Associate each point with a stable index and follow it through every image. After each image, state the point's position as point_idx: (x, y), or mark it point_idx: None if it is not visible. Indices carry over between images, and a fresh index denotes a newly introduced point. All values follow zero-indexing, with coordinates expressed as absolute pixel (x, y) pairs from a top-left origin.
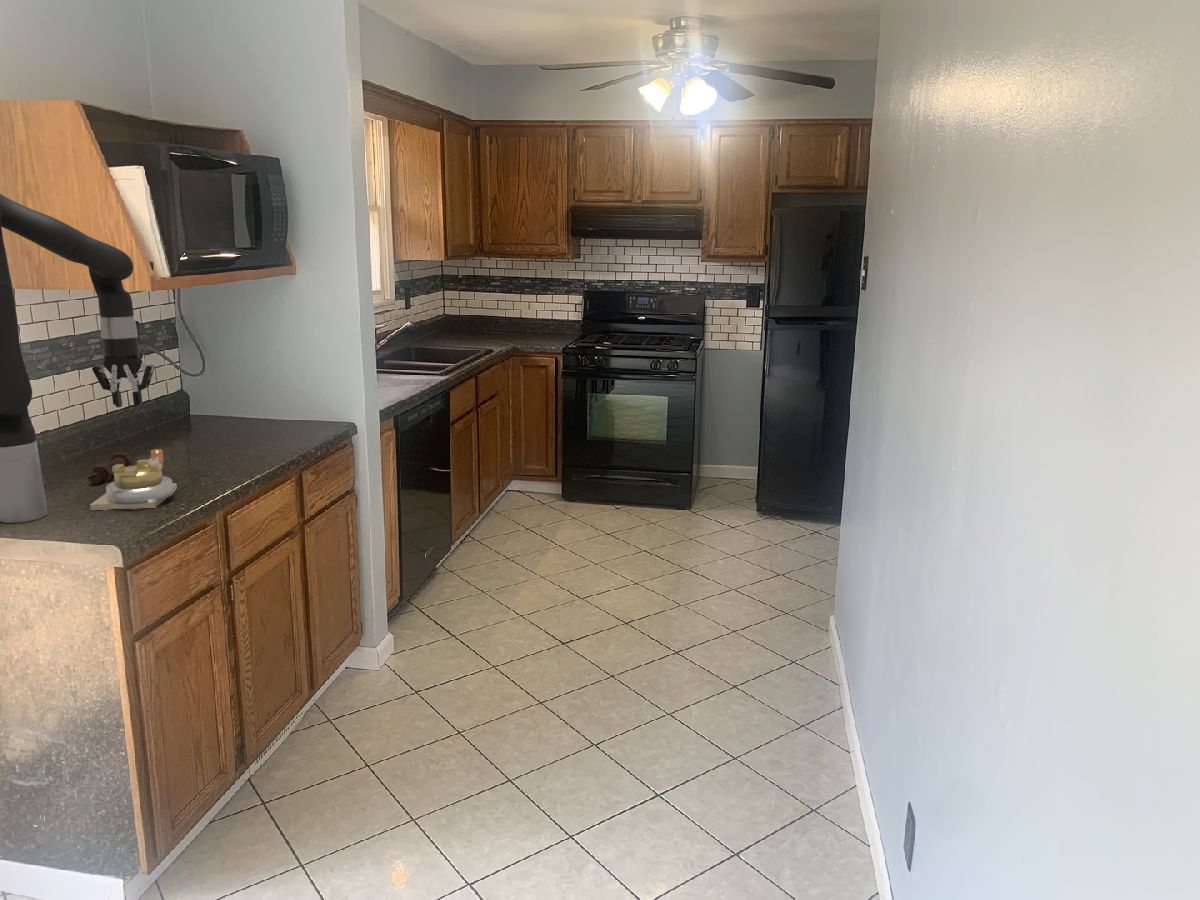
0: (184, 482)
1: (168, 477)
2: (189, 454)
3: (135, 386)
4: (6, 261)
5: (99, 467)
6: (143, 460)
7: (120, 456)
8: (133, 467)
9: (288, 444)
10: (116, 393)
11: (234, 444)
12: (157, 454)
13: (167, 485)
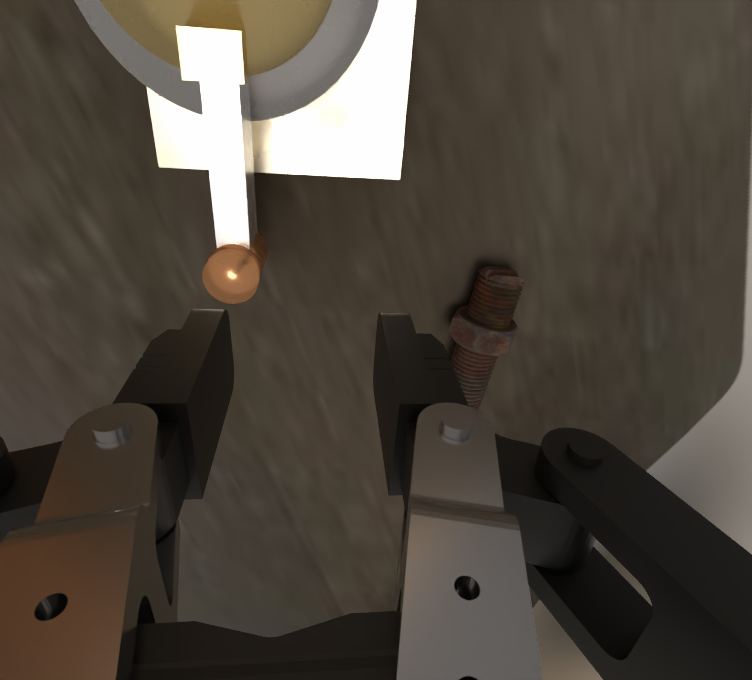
0: (181, 258)
1: (118, 59)
2: (299, 544)
3: (83, 464)
4: None
5: (495, 330)
6: (211, 59)
7: None
8: (260, 12)
9: None
10: (407, 395)
11: (210, 612)
12: (219, 250)
13: None
